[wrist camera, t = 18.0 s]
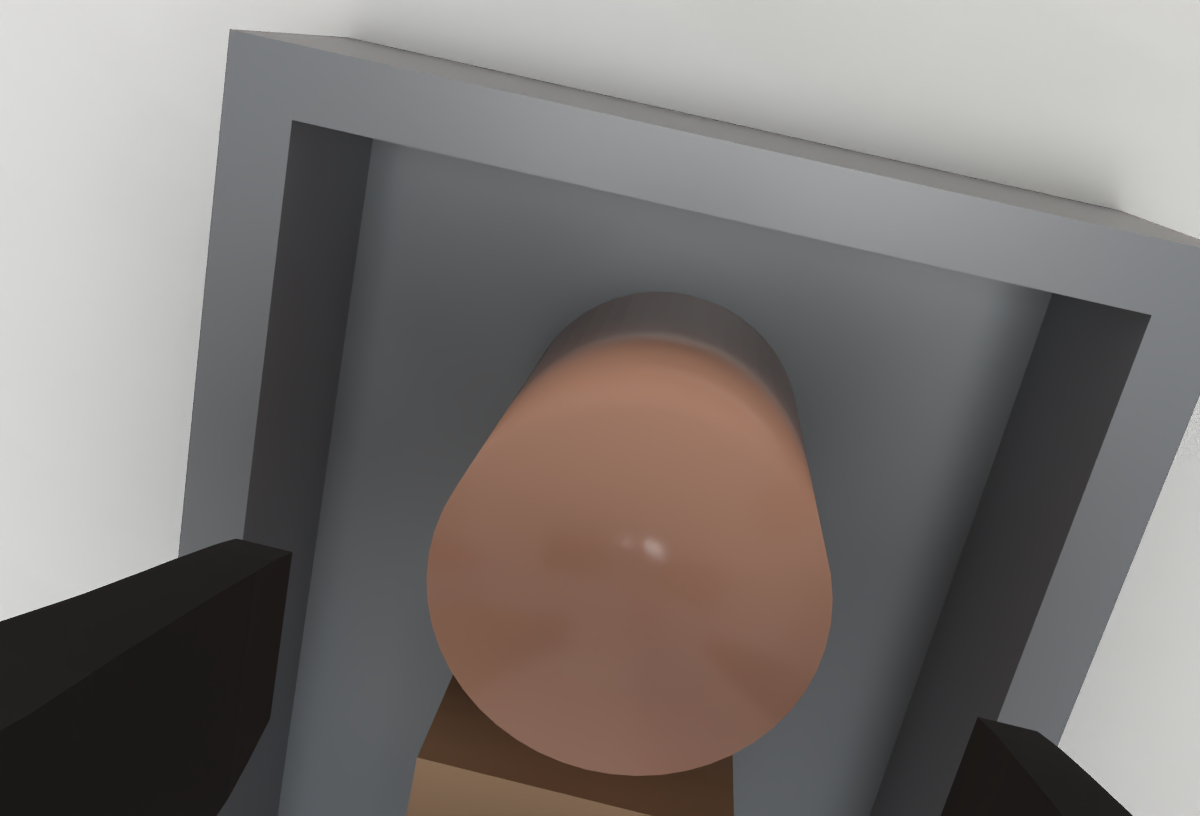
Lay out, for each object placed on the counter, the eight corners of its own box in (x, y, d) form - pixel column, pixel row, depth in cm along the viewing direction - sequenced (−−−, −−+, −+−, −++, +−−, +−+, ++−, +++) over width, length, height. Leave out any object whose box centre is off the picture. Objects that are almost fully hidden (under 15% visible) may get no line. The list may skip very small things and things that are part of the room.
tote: (838, 994, 25) (867, 1214, 20) (242, 845, 25) (132, 1025, 21) (1121, 210, 19) (1254, 259, 14) (347, 37, 20) (229, 28, 15)
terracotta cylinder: (759, 578, 21) (774, 815, 14) (503, 518, 21) (399, 723, 14) (829, 325, 19) (882, 460, 13) (551, 264, 20) (461, 363, 13)
